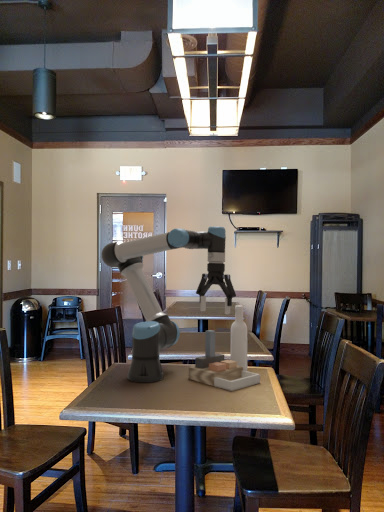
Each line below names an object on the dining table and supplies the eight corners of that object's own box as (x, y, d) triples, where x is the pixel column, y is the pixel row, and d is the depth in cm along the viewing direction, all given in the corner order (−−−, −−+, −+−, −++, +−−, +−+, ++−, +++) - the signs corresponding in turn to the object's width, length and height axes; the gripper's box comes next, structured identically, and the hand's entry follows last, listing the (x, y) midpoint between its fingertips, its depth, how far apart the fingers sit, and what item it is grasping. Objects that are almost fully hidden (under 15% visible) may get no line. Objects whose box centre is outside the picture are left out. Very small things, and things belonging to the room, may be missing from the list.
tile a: (208, 369, 173) (208, 363, 173) (217, 367, 177) (217, 361, 177) (217, 372, 170) (217, 365, 170) (225, 370, 173) (225, 364, 173)
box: (214, 386, 167) (214, 377, 167) (243, 378, 179) (243, 370, 179) (231, 391, 160) (231, 382, 160) (259, 382, 173) (260, 374, 173)
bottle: (248, 369, 195) (248, 305, 196) (246, 373, 188) (247, 306, 189) (231, 368, 197) (231, 304, 198) (228, 372, 190) (229, 306, 191)
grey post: (195, 367, 178) (195, 331, 178) (217, 362, 187) (218, 328, 188) (201, 368, 175) (202, 332, 175) (224, 363, 184) (224, 329, 185)
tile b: (220, 367, 178) (220, 361, 178) (227, 365, 181) (228, 359, 182) (229, 369, 174) (229, 363, 174) (236, 367, 178) (236, 361, 178)
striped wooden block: (188, 378, 178) (188, 367, 178) (217, 372, 190) (217, 361, 190) (214, 386, 167) (214, 373, 167) (243, 378, 179) (243, 366, 179)
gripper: (188, 262, 184) (187, 310, 184) (234, 262, 168) (232, 315, 167) (200, 262, 190) (199, 309, 189) (245, 263, 173) (243, 314, 173)
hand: (214, 312), depth 178 cm, fingers open, 13 cm apart
